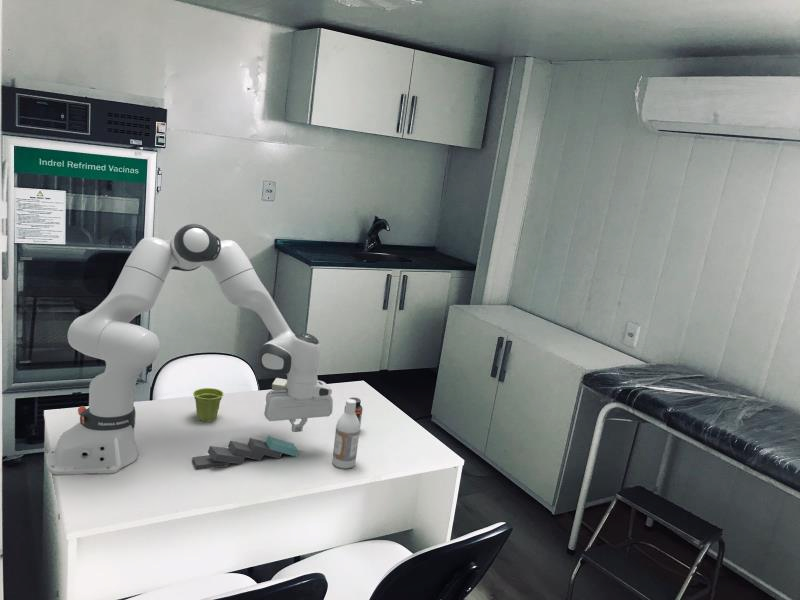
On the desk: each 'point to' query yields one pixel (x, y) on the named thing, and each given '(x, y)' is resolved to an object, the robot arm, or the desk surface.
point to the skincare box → (279, 384)
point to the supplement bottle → (357, 408)
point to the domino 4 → (262, 448)
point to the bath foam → (346, 437)
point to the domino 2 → (224, 455)
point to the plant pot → (207, 403)
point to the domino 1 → (207, 462)
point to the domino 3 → (243, 450)
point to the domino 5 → (281, 446)
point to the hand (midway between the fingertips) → (296, 431)
